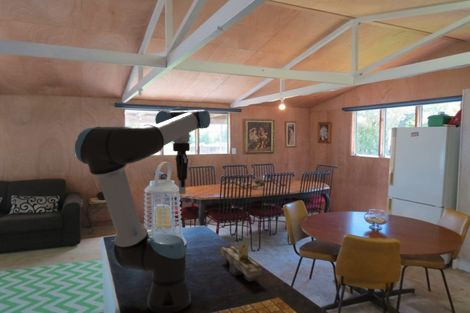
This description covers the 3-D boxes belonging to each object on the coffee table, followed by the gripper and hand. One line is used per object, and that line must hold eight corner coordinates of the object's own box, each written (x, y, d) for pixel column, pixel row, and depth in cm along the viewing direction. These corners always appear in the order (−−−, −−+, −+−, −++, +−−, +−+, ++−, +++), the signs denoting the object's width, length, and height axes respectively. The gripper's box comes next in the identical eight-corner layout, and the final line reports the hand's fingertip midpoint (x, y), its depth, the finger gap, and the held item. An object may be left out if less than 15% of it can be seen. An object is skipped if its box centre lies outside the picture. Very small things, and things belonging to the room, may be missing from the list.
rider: (249, 261, 135) (249, 244, 134) (241, 263, 133) (240, 246, 133) (245, 258, 139) (245, 242, 138) (236, 260, 137) (236, 243, 136)
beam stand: (262, 283, 129) (262, 265, 128) (246, 287, 126) (246, 269, 125) (233, 259, 154) (233, 244, 154) (219, 262, 151) (219, 247, 151)
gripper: (193, 142, 143) (194, 195, 144) (185, 142, 155) (186, 191, 156) (176, 142, 140) (177, 196, 141) (169, 142, 152) (170, 192, 153)
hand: (182, 193), depth 149 cm, fingers closed
